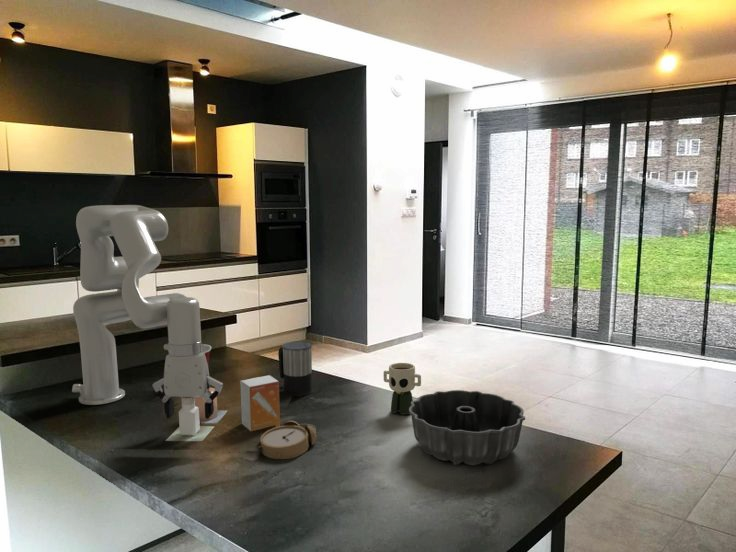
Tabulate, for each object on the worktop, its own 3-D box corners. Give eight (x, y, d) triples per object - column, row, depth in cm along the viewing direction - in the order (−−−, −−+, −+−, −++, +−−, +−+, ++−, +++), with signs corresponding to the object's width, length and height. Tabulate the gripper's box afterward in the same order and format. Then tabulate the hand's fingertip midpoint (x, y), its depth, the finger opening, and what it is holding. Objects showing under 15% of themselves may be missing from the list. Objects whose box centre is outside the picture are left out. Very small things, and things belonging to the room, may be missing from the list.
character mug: (378, 413, 158) (378, 367, 156) (388, 405, 165) (388, 360, 163) (416, 419, 154) (416, 372, 152) (425, 410, 160) (425, 364, 158)
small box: (251, 437, 144) (248, 386, 142) (241, 429, 149) (239, 380, 148) (281, 429, 148) (279, 380, 147) (270, 422, 154) (269, 374, 152)
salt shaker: (185, 429, 145) (183, 393, 144) (200, 430, 145) (198, 393, 144) (179, 436, 142) (176, 398, 140) (195, 436, 141) (192, 398, 140)
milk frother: (319, 390, 179) (318, 343, 177) (286, 406, 165) (284, 355, 163) (284, 382, 186) (283, 337, 184) (249, 397, 173) (247, 349, 171)
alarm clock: (249, 440, 135) (292, 410, 147) (252, 459, 137) (295, 427, 148) (283, 452, 129) (326, 420, 140) (287, 472, 130) (329, 438, 141)
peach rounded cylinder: (190, 420, 151) (189, 394, 150) (198, 412, 157) (197, 387, 156) (213, 421, 151) (211, 395, 150) (220, 412, 157) (219, 387, 156)
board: (153, 448, 139) (153, 442, 138) (188, 414, 160) (187, 408, 160) (211, 449, 138) (211, 443, 137) (238, 414, 159) (237, 409, 159)
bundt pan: (545, 448, 135) (546, 406, 134) (481, 489, 117) (482, 442, 116) (453, 419, 154) (453, 382, 153) (386, 450, 135) (385, 409, 134)
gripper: (143, 352, 137) (148, 422, 140) (215, 353, 136) (219, 422, 138) (157, 344, 145) (161, 410, 147) (225, 344, 143) (228, 411, 146)
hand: (189, 416), depth 143 cm, fingers open, 9 cm apart
